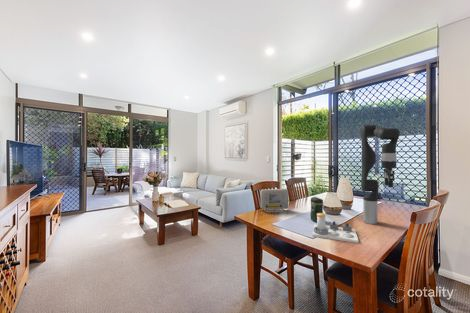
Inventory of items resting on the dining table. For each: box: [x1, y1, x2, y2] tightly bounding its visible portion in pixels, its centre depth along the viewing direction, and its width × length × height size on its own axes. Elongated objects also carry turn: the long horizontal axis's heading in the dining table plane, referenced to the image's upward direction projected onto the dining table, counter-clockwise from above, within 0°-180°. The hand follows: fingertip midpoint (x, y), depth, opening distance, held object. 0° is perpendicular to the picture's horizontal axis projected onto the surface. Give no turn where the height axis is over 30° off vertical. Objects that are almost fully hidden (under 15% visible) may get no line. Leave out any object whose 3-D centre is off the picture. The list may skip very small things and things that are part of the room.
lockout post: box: [316, 212, 327, 231], centre depth 135 cm, size 5×5×12 cm
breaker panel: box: [311, 220, 359, 244], centre depth 136 cm, size 20×26×6 cm
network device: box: [260, 188, 289, 213], centre depth 192 cm, size 26×9×20 cm, turn 94°
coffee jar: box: [310, 196, 324, 223], centre depth 162 cm, size 10×8×19 cm
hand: (388, 186), depth 127 cm, fingers open, 8 cm apart
